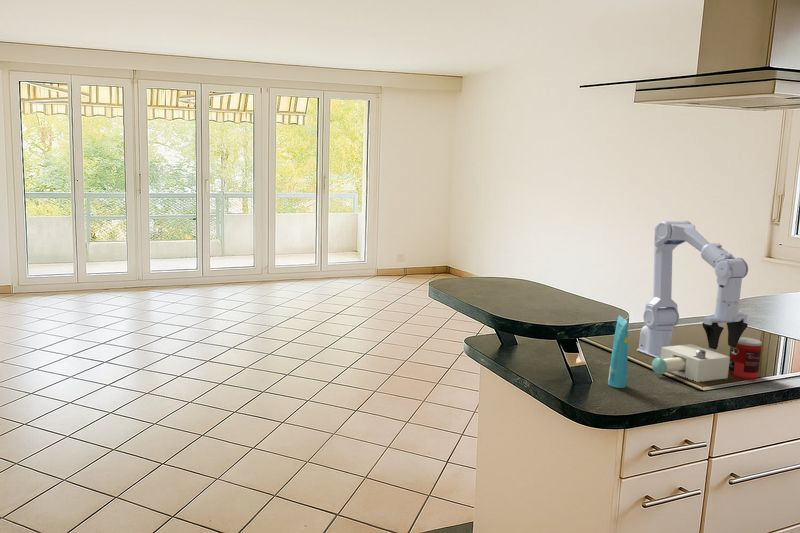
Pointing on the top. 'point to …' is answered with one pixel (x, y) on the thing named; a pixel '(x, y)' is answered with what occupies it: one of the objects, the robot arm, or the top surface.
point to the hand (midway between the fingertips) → (722, 347)
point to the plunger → (700, 354)
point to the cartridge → (668, 365)
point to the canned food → (745, 359)
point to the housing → (698, 362)
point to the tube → (619, 355)
